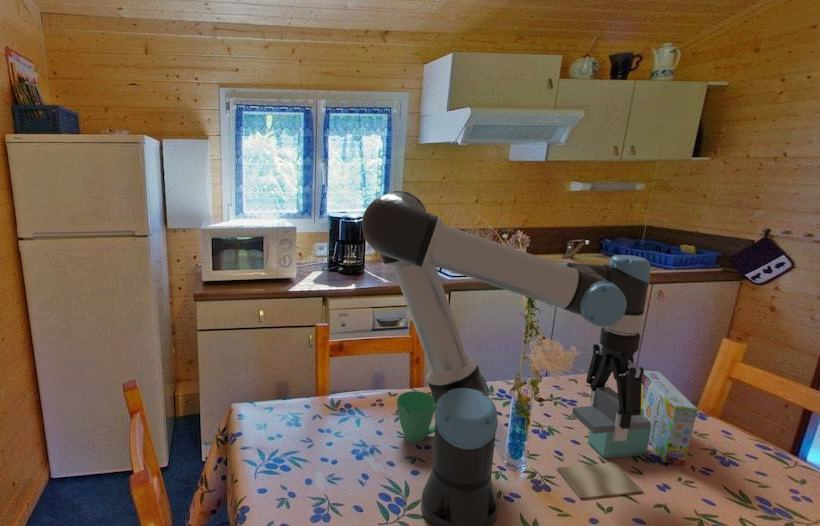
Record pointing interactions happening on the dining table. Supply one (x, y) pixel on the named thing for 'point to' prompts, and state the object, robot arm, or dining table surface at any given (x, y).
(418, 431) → the mug
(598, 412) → the lid
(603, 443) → the tub
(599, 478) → the plate
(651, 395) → the snack box
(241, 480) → the dining table surface
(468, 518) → the robot arm
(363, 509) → the dining table surface
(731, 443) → the dining table surface
